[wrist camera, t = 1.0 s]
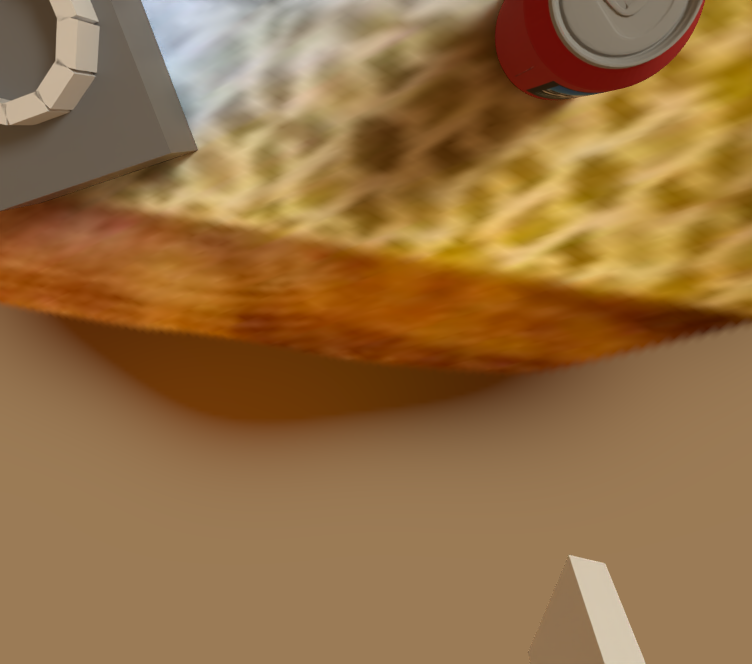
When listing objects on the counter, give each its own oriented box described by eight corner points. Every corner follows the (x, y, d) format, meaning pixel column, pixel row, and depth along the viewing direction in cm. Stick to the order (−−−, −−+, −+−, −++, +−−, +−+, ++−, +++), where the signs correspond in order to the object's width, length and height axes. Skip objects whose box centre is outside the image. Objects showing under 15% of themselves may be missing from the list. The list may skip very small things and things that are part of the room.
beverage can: (552, 127, 33) (617, 129, 22) (466, 40, 32) (489, -5, 21) (647, 27, 31) (773, -27, 20) (560, -69, 30) (641, -185, 19)
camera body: (-95, -82, 32) (-204, -125, 27) (80, -160, 31) (2, -224, 25) (39, 203, 37) (-30, 217, 31) (197, 149, 35) (154, 154, 30)
